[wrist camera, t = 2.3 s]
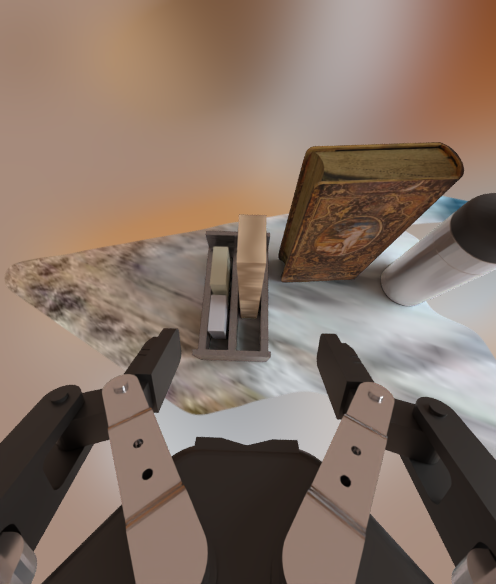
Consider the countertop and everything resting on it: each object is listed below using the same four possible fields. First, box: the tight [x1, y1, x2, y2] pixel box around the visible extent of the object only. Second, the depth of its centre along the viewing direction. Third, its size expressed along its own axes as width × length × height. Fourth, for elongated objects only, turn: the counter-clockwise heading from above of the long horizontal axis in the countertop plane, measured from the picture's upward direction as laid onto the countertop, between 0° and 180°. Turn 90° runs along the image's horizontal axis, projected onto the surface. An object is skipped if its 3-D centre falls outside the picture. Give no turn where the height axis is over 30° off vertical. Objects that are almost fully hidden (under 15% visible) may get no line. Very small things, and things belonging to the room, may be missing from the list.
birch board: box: [237, 215, 266, 319], centre depth 35 cm, size 3×6×22 cm, turn 178°
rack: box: [192, 231, 271, 362], centre depth 41 cm, size 12×22×8 cm, turn 178°
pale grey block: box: [208, 295, 229, 339], centre depth 40 cm, size 2×6×7 cm, turn 178°
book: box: [278, 142, 464, 282], centre depth 36 cm, size 16×6×25 cm, turn 93°
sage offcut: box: [210, 247, 231, 303], centre depth 42 cm, size 2×7×9 cm, turn 178°
